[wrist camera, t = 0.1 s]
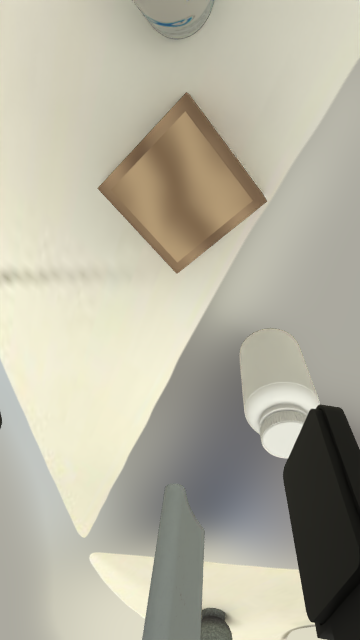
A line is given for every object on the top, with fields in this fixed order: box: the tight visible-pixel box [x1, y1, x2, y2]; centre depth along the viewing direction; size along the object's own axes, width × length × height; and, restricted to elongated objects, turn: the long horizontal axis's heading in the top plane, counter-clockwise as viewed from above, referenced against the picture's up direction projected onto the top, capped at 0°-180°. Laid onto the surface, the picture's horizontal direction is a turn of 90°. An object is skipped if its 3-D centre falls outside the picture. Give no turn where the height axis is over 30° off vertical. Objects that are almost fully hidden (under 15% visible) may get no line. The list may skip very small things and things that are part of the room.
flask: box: [142, 484, 205, 640], centre depth 56 cm, size 17×5×25 cm, turn 17°
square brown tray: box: [98, 92, 267, 273], centre depth 35 cm, size 12×12×3 cm
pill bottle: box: [239, 328, 320, 458], centre depth 39 cm, size 8×8×15 cm
